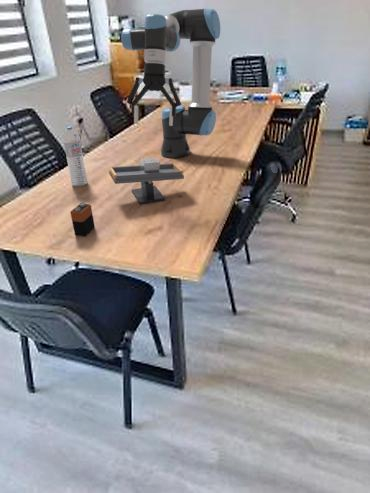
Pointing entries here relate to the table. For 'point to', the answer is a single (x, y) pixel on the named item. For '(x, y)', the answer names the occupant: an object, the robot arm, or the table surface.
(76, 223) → the battery
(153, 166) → the rider
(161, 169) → the beam
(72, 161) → the water bottle
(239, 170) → the table surface
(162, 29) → the robot arm
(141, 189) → the stand
